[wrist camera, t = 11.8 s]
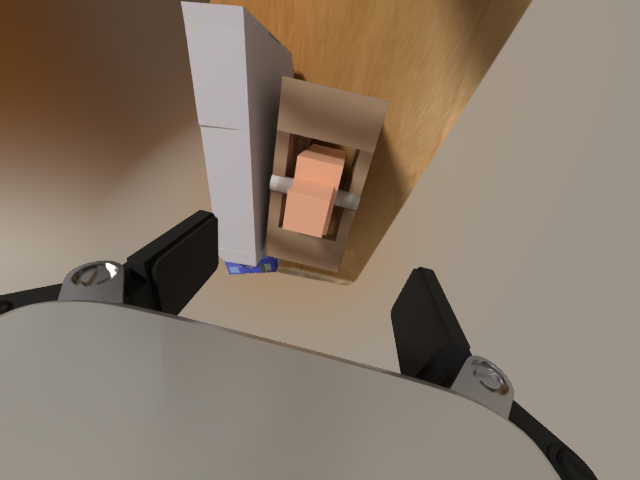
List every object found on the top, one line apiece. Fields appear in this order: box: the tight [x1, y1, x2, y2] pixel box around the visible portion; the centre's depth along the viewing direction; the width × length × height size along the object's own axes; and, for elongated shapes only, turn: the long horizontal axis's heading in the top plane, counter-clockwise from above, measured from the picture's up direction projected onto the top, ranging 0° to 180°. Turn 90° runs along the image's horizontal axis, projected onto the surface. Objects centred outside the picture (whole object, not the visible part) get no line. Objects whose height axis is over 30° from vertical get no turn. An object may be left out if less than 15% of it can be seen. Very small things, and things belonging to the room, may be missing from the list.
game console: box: [181, 1, 294, 266], centre depth 35 cm, size 6×27×20 cm, turn 175°
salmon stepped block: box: [282, 144, 346, 238], centre depth 29 cm, size 8×5×16 cm, turn 168°
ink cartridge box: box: [225, 253, 282, 274], centre depth 47 cm, size 10×6×14 cm, turn 99°
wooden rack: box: [264, 76, 390, 273], centre depth 36 cm, size 22×11×19 cm, turn 168°
